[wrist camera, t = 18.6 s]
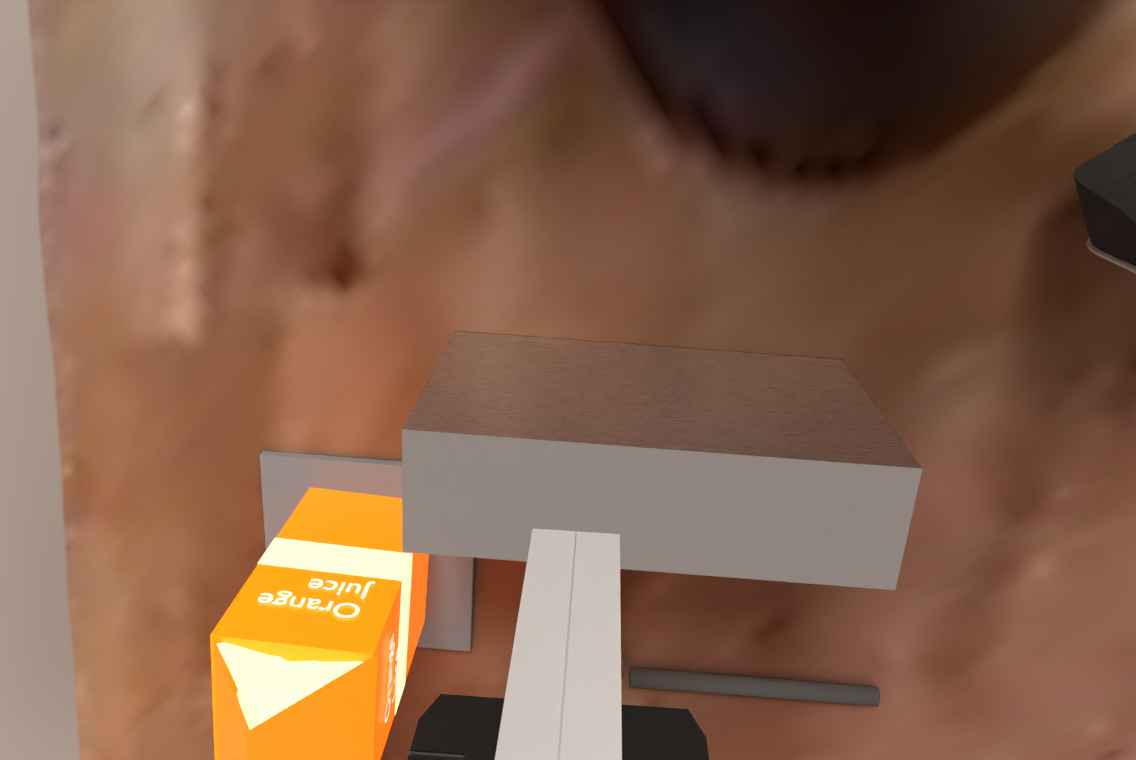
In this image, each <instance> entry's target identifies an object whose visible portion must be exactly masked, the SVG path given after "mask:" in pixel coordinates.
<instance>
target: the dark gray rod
mask: <svg viewBox="0 0 1136 760" xmlns="http://www.w3.org/2000/svg"><path fill="white" fill-rule="evenodd" d="M629 685H630V687H641V688H654V689H666V690H679V691H691V692H704V693H716V694H729V695H741V696H754V697H766V698H779V699H791V700H804V701H817V702H829V703H842V704H854V705H867V706H878V705H879V703H880V692H879V689H878V687H873V686H861V685H848V684H836V683H823V682H810V681H798V680H785V679H773V678H760V677H748V676H735V675H722V674H710V673H697V672H685V671H672V670H660V669H647V668H634V667H631V668H630V679H629Z"/></svg>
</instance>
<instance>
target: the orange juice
mask: <svg viewBox="0 0 1136 760" xmlns="http://www.w3.org/2000/svg"><path fill="white" fill-rule="evenodd" d="M428 559H429V554H422V553H409V552H402V498H394V497H386V496H378V495H369V494H361V493H352V492H344V491H336V490H327V489H319V488H309V490H308V491H307V493H306V494H305V496H304V497H303V499H302V500H301V501H300V503H299V504H298V506H297V507H296V509H295V510H294V512H293V513H292V515H291V516H290V518H289V519H288V521H287V522H286V524H285V525H284V527H283V528H282V530H281V531H280V533H279V534H278V536H277V537H276V538H274V540H273V541H272V543H271V544H270V546H269V547H268V549H267V550H266V552H265V553H264V554H263V556H262V557H261V559H260V560H259V562H258V565H257V567H256V568H255V570H254V571H253V573H252V574H251V576H250V577H249V578H248V580H247V581H246V583H245V584H244V586H243V587H242V589H241V590H240V592H239V593H238V595H237V596H236V598H235V599H234V601H233V602H232V604H231V605H230V607H229V608H228V610H227V611H226V613H225V614H224V615H223V617H222V618H221V620H220V621H219V623H218V624H217V626H216V627H215V629H214V630H213V632H212V633H211V635H210V641H211V668H212V696H213V723H214V751H215V760H380V759H381V756H382V753H383V750H384V747H385V743H386V740H387V737H388V734H389V731H390V728H391V725H392V721H393V718H394V715H396V712H397V708H398V705H399V702H400V699H401V696H402V693H403V690H404V686H405V681H406V678H407V674H408V671H409V668H410V665H411V662H412V659H413V656H414V652H415V649H416V646H417V643H418V640H419V637H420V634H421V631H422V627H423V624H424V621H425V606H426V590H427V575H428Z"/></svg>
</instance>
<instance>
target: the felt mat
mask: <svg viewBox="0 0 1136 760" xmlns="http://www.w3.org/2000/svg"><path fill="white" fill-rule="evenodd" d="M260 465H261V481H262V497H263V512H264V528H265V544H266V550H267V549H268V547H269V546H270V544H271V543H272V541H273V540H274V538H276V537H277V536H278V534H279V533H280V531H281V530H282V528H283V527H284V525H285V524H286V522H287V521H288V519H289V518H290V516H291V515H292V513H293V512H294V510H295V509H296V507H297V506H298V504H299V503H300V501H301V500H302V499H303V497H304V496H305V494H306V493H307V491H308V490H309V488H319V489H327V490H336V491H344V492H352V493H361V494H369V495H378V496H386V497H394V498H402V461H391V460H378V459H365V458H352V457H339V456H326V455H312V454H299V453H286V452H273V451H263V452H262V453H261V454H260ZM473 577H474V558H473V557H460V556H448V555H435V554H429V559H428V575H427V590H426V606H425V621H424V624H423V627H422V631H421V634H420V637H419V640H418V643H417V646H416V647H421V648H434V649H446V650H459V651H470V649H471V641H472V609H473Z"/></svg>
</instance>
